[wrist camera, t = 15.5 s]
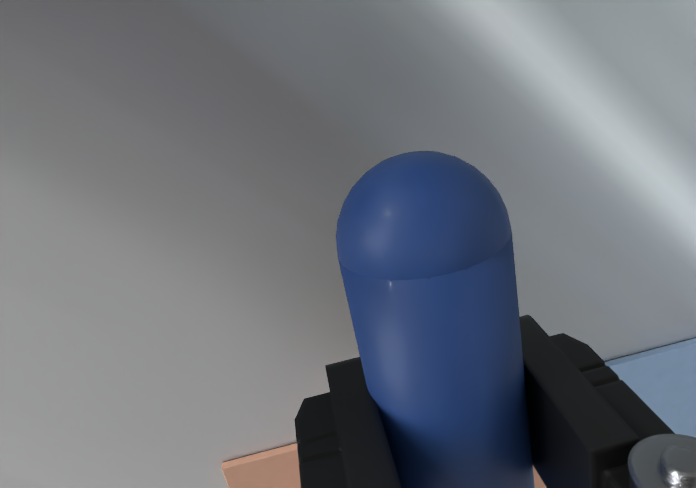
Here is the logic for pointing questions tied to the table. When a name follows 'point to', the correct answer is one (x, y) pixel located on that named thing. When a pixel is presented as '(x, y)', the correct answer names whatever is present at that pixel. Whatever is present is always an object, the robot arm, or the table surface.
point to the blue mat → (664, 382)
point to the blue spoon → (438, 320)
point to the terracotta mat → (278, 470)
